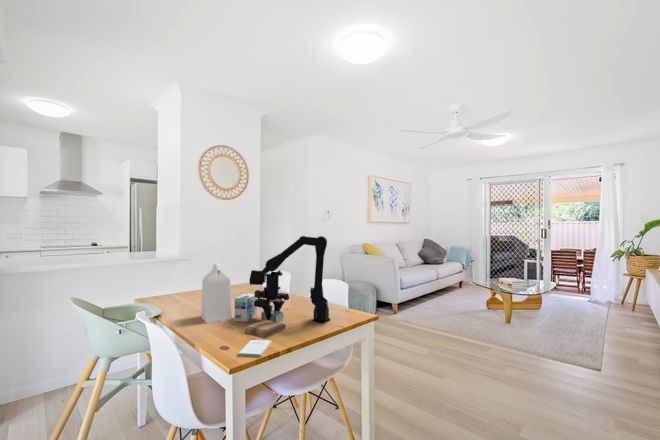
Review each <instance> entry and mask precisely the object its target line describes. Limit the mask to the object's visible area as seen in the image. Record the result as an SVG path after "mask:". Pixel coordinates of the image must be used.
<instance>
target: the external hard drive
mask: <svg viewBox="0 0 660 440" xmlns="http://www.w3.org/2000/svg"><path fill="white" fill-rule="evenodd" d="M271 344H272V340H270V339H269V340H268V339H266V340H265V339H251V340H249V342H247V343H246V345H244V347H242V348H241V349H240V351H239V352H238V353H237V357H245V356H246V357H248V358H261V357H262V356H263V355H264V354H265V352H266V351H267V350H268V349H269V347H270V346H271Z"/></svg>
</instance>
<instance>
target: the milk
mask: <svg viewBox="0 0 660 440" xmlns="http://www.w3.org/2000/svg"><path fill="white" fill-rule="evenodd" d="M220 266H221V265H220V263H215V262H214V263H213V267H212V269H211V270H210V271H208V272H207V273H206V275H204V277H203V278H202V282H201V283H202V285H201V300H200V301H201V302H200V303H201V305H200V318H202V319H201V320H203V321H204V323H205V324H209V323H215V322H221V321H226V320H231V319H232V317H233V316H232V295H231V293H232V291H231V290H232V289H231V280H230V278H229V277H228V276H227V274H224V272H222V270H221V267H220Z"/></svg>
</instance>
